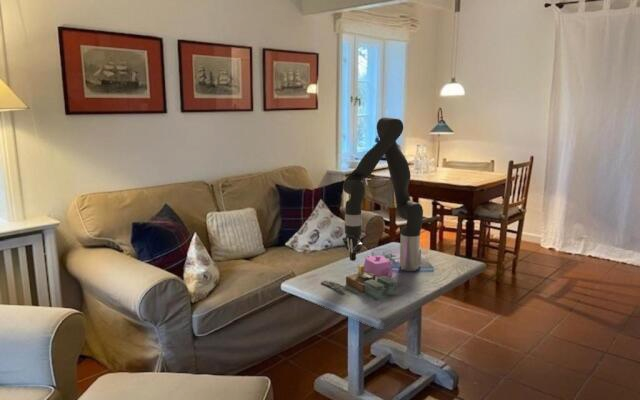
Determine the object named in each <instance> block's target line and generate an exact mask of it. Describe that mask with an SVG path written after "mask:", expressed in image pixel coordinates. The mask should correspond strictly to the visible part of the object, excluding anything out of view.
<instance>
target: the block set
mask: <svg viewBox="0 0 640 400" xmlns="http://www.w3.org/2000/svg"><path fill="white" fill-rule="evenodd" d="M365 273H367V274H369V275H371V276H373V277H374V280H372V279H371V280H367V277H366V276H364V275H362V276H360V277H359V276H358V272H357V273H354V274H350V275H348V276H345V285H346V287H349V288H351V289H352V290H355V291H357V292H359V293H360V294H364V295H365V296H366V297H369V299H370V298H371V299H372V300H375V301H376V302H377V301H381V300H383V299H387V298H390V297H393V296H396V295H397V283H398V282H397V281H396V280H394V279H392V278H391V279H390V278H388V277H386V276H381V277H376V276H375V274H372V273H368V272H366V271H365Z"/></svg>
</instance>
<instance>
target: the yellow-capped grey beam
mask: <svg viewBox="0 0 640 400" xmlns="http://www.w3.org/2000/svg"><path fill="white" fill-rule="evenodd" d="M357 268H358V269H357V273H358V276H359V277H360V276H362V275H364V276H366V277H367V280H371V279H372V280H374V277H373V276H371V275H369V274H367V273H365V266H364V265H363V264H359V265H357Z"/></svg>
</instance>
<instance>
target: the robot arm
mask: <svg viewBox="0 0 640 400" xmlns="http://www.w3.org/2000/svg"><path fill="white" fill-rule="evenodd" d="M376 132H377V135H378V139H379V140H378V142H377V143H375V145H374V146H373V147H371V148H370V149H369V150H368V151H367V152H366V153H365V154H364V155H363V156H362V158H361V160H360V161H359V163H358V165H357V166H356V167H355V169H354V170H353V171H352V172H350V174H349V175H348V176H347V177H346V178H345V180H344V182H343V184H342V189H343V191H344V192H345V193H346V194H347V195H349V196H350V197H349V199H348V200H346V201H345V208H344V209H345V215H344V233H345V237H343V238H342V241H343V243H344V246H345V248H346V250H347V251H348V252H349V260H350V261H351V262H355V261H356V259H357V253H360V251H361V250H362V248H363V247H364V245H365V244H364V242H362V241H361V237H360V236H361V235H362V221H363V219H362V217H363V216H362V203H363V201H364V196H365V191H366V189H365V188H366V187H365V185H364V183H363V180H365V179H368V178H370V177H371V175H372V173H373V172H374V170H375V169H376V166H378V164H379V162H380V161H381V159H382V158H383V157H385V160H386V164H387V167H388V168H387V169H388V171H389V176H390V180H391V183H392V188H393V190H394V196H395V202H396V210H397V213H398V215H399V217H400V218H401V219H403V220H406V225H405V226H402V227H401V228H400V247H399V252H400V253H399V267H400V266H401V268H402V269H403V271H405V272H406V271H407V272H414V271H417V270H416V269H417V268H418V267H419V265H421V264H422V263H421V262H422V261H421V260H422V259H421V258H422V249H421V248H420V247H421V245H420V242H421V231H422V228H423V221H424V220H423V219H424V209H423V206H422V205H421V204H420V203H418V202H415V201H412V200H411V198H410V194H409V185H410V181H411V171H410V167H409V163H408V162H409V161H408V160H407V158H406V156H405V154H403V153H404V152H402V151H401V149H400V148H399V146H398V144H397V140H398V139H399V138H400V137H401V135H402V134H403V132H404V123H403V121H402V120H401V119H400V118H397V117H388V116H385V117H381V118H380V119H378V120H377V123H376ZM401 268H400V269H401ZM402 269H401V270H402Z"/></svg>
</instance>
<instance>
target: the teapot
mask: <svg viewBox="0 0 640 400" xmlns="http://www.w3.org/2000/svg"><path fill="white" fill-rule="evenodd" d="M363 264H364V266H365V271H366V272H368V273H372V274H375V276H376V277H381V276H386V277H388V278H390V279H392V277H393V267H392V261H391V260H390V259H388V258H387V257H384V256H383V255H381V254H380V255H379V254H378V255H371V254H370V255H367V257H365V258H364V263H363Z"/></svg>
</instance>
